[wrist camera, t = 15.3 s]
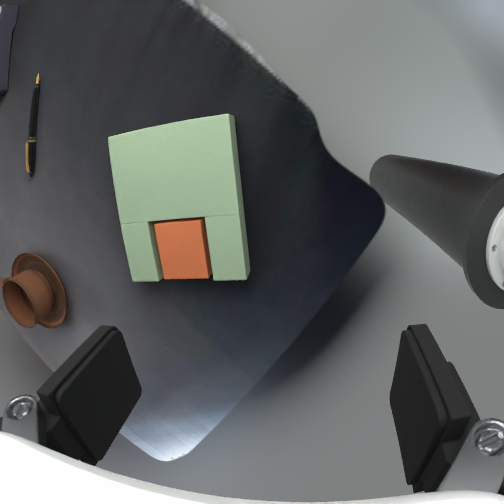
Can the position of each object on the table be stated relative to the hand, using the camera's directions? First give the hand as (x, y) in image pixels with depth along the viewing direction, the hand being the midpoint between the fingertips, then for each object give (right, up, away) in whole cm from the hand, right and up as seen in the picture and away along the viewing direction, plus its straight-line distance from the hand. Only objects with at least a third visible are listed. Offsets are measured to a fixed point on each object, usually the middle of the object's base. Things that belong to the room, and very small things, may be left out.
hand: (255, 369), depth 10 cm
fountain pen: (-28, +21, +23) cm, 42 cm away
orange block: (-7, +5, +25) cm, 26 cm away
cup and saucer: (-31, -1, +31) cm, 44 cm away
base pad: (-7, +9, +23) cm, 26 cm away
